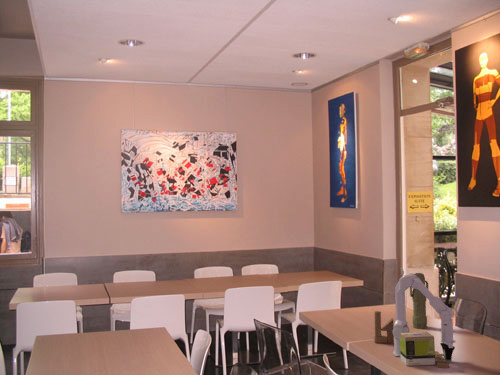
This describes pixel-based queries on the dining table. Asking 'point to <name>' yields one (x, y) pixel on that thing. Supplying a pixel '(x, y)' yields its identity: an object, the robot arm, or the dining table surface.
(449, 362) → the grey-green block
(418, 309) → the thermos
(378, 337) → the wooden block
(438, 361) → the walnut board
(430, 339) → the tea box
